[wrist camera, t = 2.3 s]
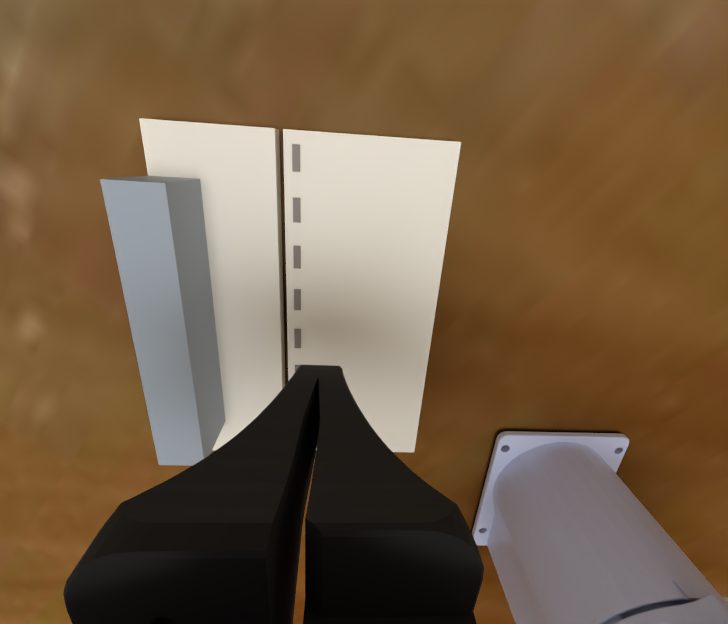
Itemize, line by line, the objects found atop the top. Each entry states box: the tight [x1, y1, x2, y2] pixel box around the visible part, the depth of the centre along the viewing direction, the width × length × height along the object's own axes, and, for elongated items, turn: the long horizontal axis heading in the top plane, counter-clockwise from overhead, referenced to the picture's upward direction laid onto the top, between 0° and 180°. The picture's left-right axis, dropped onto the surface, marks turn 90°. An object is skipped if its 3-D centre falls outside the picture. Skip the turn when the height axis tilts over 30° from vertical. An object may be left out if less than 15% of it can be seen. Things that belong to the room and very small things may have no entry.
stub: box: [100, 118, 286, 465], centre depth 16 cm, size 16×5×4 cm, turn 176°
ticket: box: [283, 129, 461, 452], centre depth 18 cm, size 16×7×1 cm, turn 176°
